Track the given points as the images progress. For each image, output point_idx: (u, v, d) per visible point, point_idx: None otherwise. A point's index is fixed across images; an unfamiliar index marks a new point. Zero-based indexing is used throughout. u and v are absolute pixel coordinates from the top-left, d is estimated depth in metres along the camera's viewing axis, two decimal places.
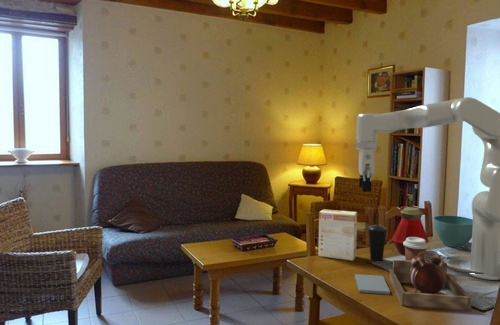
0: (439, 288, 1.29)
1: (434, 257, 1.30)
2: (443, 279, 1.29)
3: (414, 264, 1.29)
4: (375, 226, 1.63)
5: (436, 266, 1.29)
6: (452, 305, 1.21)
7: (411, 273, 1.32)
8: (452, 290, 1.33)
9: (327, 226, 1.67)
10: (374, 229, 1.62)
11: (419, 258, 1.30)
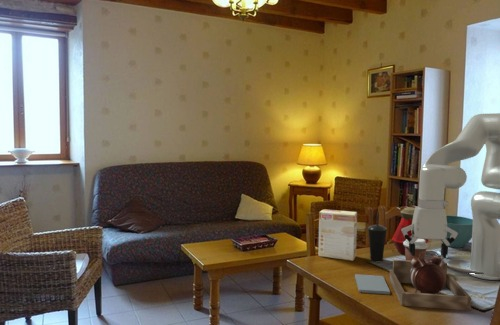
0: (439, 288, 1.29)
1: (434, 257, 1.30)
2: (443, 279, 1.29)
3: (415, 264, 1.29)
4: (375, 226, 1.63)
5: (436, 266, 1.29)
6: (452, 305, 1.21)
7: (411, 273, 1.32)
8: (452, 290, 1.33)
9: (327, 226, 1.67)
10: (374, 229, 1.62)
11: (419, 258, 1.30)
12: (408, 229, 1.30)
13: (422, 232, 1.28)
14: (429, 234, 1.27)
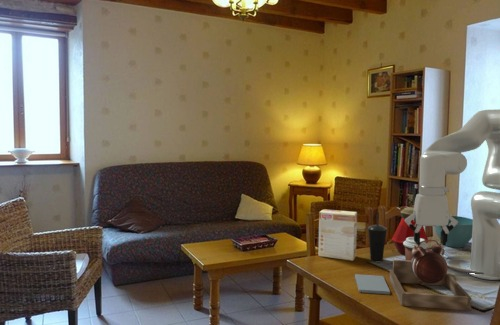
0: (441, 277, 1.30)
1: (434, 246, 1.31)
2: (445, 268, 1.30)
3: (415, 254, 1.30)
4: (375, 226, 1.63)
5: (437, 255, 1.29)
6: (452, 305, 1.21)
7: (412, 263, 1.32)
8: (452, 290, 1.33)
9: (327, 226, 1.67)
10: (374, 229, 1.62)
11: (419, 248, 1.30)
12: (411, 218, 1.30)
13: (424, 219, 1.28)
14: (431, 221, 1.28)
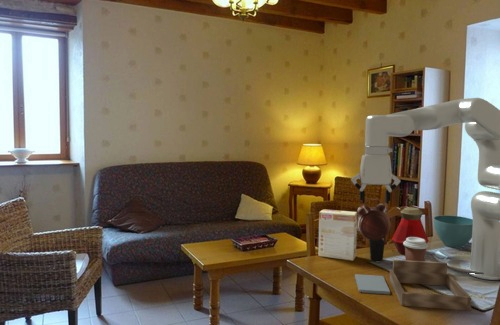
0: (384, 234, 1.36)
1: (379, 205, 1.37)
2: (388, 225, 1.36)
3: (360, 212, 1.36)
4: None
5: (380, 213, 1.35)
6: (452, 305, 1.21)
7: (358, 221, 1.38)
8: (452, 290, 1.33)
9: (327, 226, 1.67)
10: None
11: (364, 206, 1.36)
12: (356, 177, 1.36)
13: (368, 178, 1.34)
14: (374, 179, 1.34)
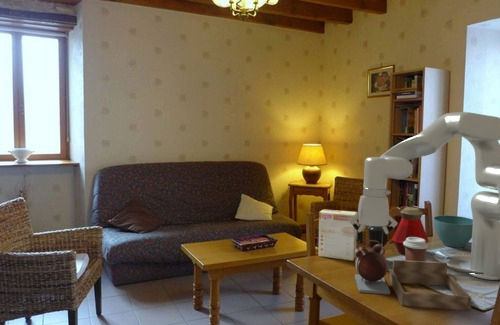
0: (382, 274, 1.37)
1: (375, 246, 1.38)
2: (385, 266, 1.37)
3: (357, 254, 1.37)
4: (375, 226, 1.63)
5: (377, 254, 1.36)
6: (452, 305, 1.21)
7: (355, 262, 1.39)
8: (452, 290, 1.33)
9: (327, 226, 1.67)
10: (374, 229, 1.62)
11: (361, 248, 1.37)
12: (354, 218, 1.37)
13: (366, 219, 1.35)
14: (372, 221, 1.35)
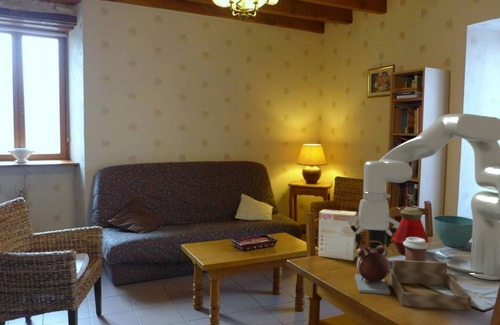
0: (383, 276, 1.37)
1: (378, 247, 1.38)
2: (387, 268, 1.37)
3: (360, 253, 1.37)
4: None
5: (380, 255, 1.36)
6: (452, 305, 1.21)
7: (357, 262, 1.39)
8: (452, 290, 1.33)
9: (327, 226, 1.67)
10: None
11: (364, 248, 1.37)
12: (354, 220, 1.38)
13: (366, 223, 1.35)
14: (372, 225, 1.35)
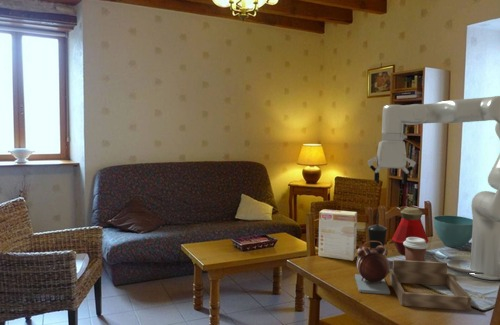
0: (383, 276, 1.37)
1: (378, 247, 1.38)
2: (387, 268, 1.37)
3: (359, 253, 1.37)
4: (375, 226, 1.63)
5: (380, 255, 1.36)
6: (452, 305, 1.21)
7: (357, 262, 1.39)
8: (452, 290, 1.33)
9: (327, 226, 1.67)
10: (374, 229, 1.62)
11: (364, 248, 1.37)
12: (373, 160, 1.49)
13: (385, 162, 1.47)
14: (391, 163, 1.47)
